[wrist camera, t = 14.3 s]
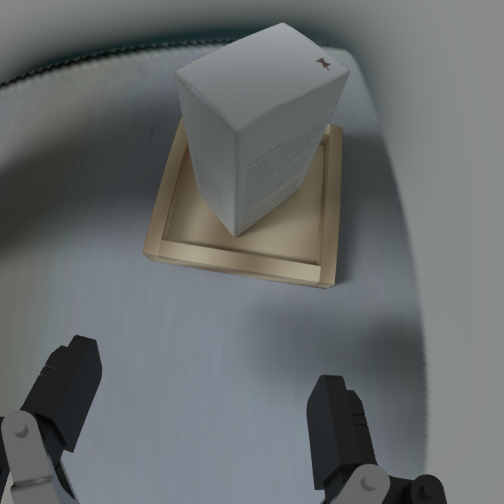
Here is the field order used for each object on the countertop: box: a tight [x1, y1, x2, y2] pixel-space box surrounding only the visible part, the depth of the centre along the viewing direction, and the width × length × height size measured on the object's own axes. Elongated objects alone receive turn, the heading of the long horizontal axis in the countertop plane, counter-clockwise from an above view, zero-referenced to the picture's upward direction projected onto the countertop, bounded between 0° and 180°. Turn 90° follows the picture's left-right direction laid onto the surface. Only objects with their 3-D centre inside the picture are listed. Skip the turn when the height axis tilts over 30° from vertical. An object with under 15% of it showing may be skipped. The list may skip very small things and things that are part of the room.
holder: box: [143, 117, 343, 289], centre depth 22 cm, size 12×12×2 cm
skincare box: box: [174, 23, 350, 237], centre depth 17 cm, size 6×4×12 cm
